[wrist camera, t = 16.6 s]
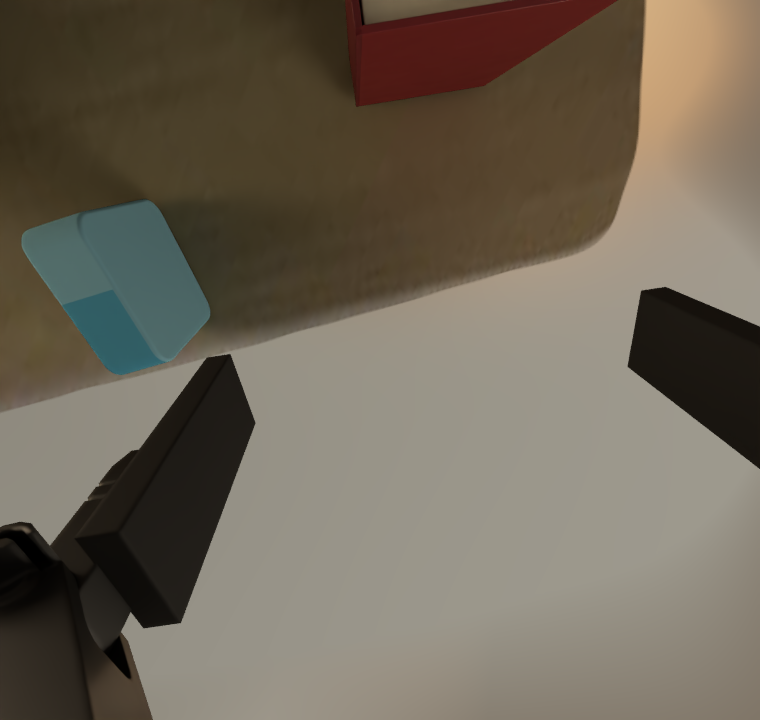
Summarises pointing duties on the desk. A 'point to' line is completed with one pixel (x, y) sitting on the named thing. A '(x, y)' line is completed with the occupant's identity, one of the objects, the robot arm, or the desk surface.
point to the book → (449, 41)
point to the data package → (121, 282)
